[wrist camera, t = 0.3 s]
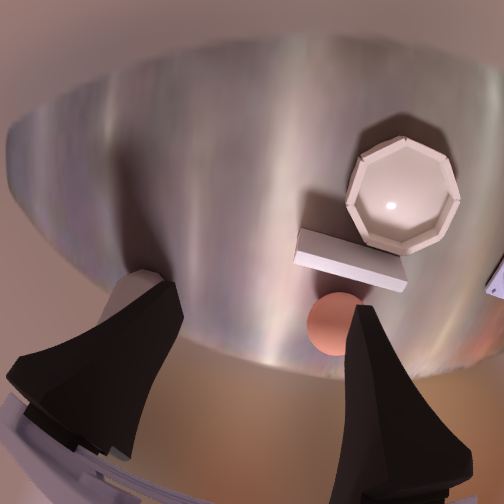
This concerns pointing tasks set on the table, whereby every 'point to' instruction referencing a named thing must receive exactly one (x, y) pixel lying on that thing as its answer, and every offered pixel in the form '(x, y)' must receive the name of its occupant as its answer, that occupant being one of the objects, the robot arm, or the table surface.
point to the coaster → (402, 195)
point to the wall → (349, 260)
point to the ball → (331, 322)
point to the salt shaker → (129, 291)
